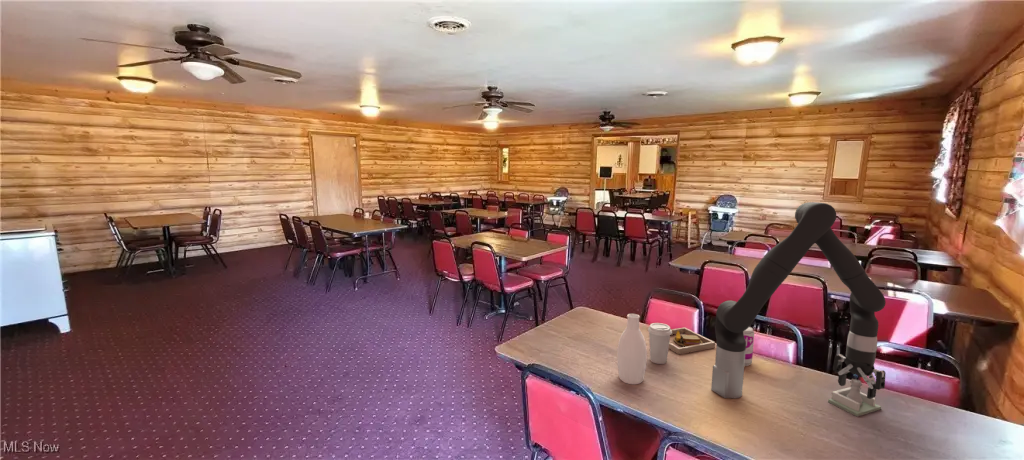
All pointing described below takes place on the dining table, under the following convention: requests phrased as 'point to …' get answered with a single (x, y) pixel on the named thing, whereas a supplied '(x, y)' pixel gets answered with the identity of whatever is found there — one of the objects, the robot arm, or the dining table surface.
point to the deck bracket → (853, 402)
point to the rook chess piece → (855, 391)
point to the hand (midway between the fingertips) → (855, 391)
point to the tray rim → (693, 348)
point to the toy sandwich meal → (687, 339)
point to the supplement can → (749, 345)
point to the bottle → (632, 352)
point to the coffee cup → (659, 342)
